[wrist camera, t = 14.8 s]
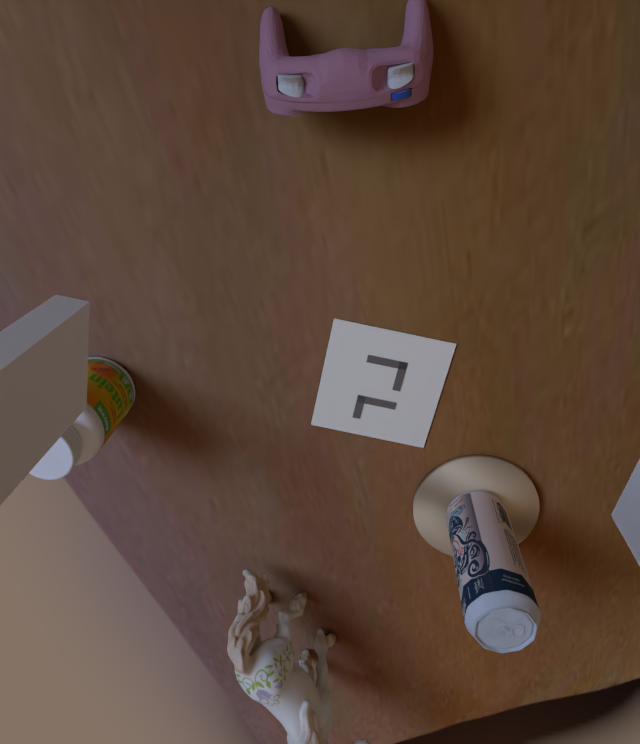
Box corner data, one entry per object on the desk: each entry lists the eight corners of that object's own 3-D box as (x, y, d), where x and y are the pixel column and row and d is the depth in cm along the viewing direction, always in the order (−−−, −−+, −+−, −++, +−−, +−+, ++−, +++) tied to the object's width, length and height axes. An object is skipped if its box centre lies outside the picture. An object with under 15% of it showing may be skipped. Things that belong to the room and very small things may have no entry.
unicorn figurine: (359, 696, 60) (357, 848, 48) (205, 590, 56) (160, 729, 44) (411, 661, 58) (422, 813, 46) (254, 547, 53) (221, 682, 41)
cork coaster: (431, 443, 47) (432, 447, 47) (556, 469, 48) (558, 473, 47) (399, 540, 52) (400, 545, 51) (514, 564, 52) (515, 569, 51)
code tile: (334, 318, 44) (333, 318, 43) (456, 343, 44) (456, 344, 44) (311, 424, 47) (310, 424, 47) (423, 447, 48) (423, 448, 47)
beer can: (448, 485, 48) (470, 600, 37) (509, 487, 48) (550, 605, 37) (442, 532, 50) (463, 655, 39) (501, 535, 50) (538, 660, 39)
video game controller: (270, 78, 39) (260, 139, 34) (257, 0, 35) (244, 56, 31) (427, 64, 38) (437, 124, 33) (430, -18, 34) (441, 37, 30)
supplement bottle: (151, 395, 47) (101, 465, 39) (102, 427, 49) (44, 502, 40) (104, 342, 46) (41, 402, 37) (55, 377, 47) (-17, 443, 39)
